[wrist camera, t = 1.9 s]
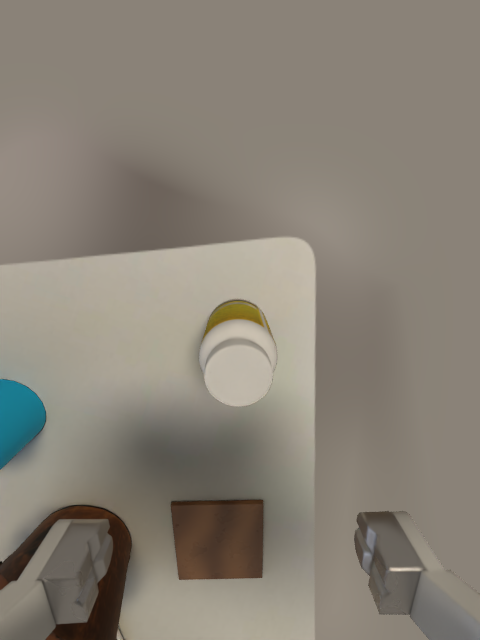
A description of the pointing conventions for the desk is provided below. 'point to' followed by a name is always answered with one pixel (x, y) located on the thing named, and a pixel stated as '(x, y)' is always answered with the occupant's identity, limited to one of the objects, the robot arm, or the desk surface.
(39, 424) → the mug
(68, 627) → the case
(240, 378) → the pill bottle
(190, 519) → the brown wooden coaster
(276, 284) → the desk surface
